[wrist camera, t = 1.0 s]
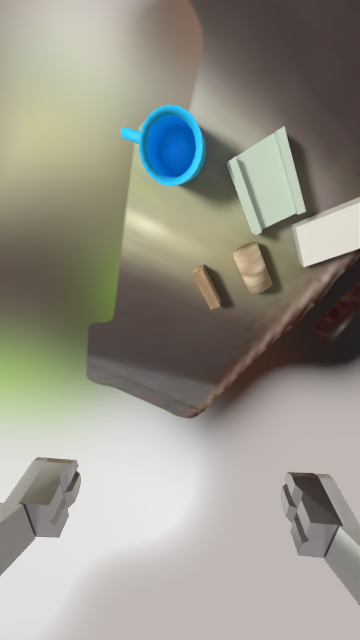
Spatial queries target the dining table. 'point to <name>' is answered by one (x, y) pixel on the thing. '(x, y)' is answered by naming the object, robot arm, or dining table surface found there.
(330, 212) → the slab
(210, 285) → the wooden brick
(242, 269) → the roller
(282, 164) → the cradle
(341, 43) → the dining table surface
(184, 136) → the mug
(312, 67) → the dining table surface
